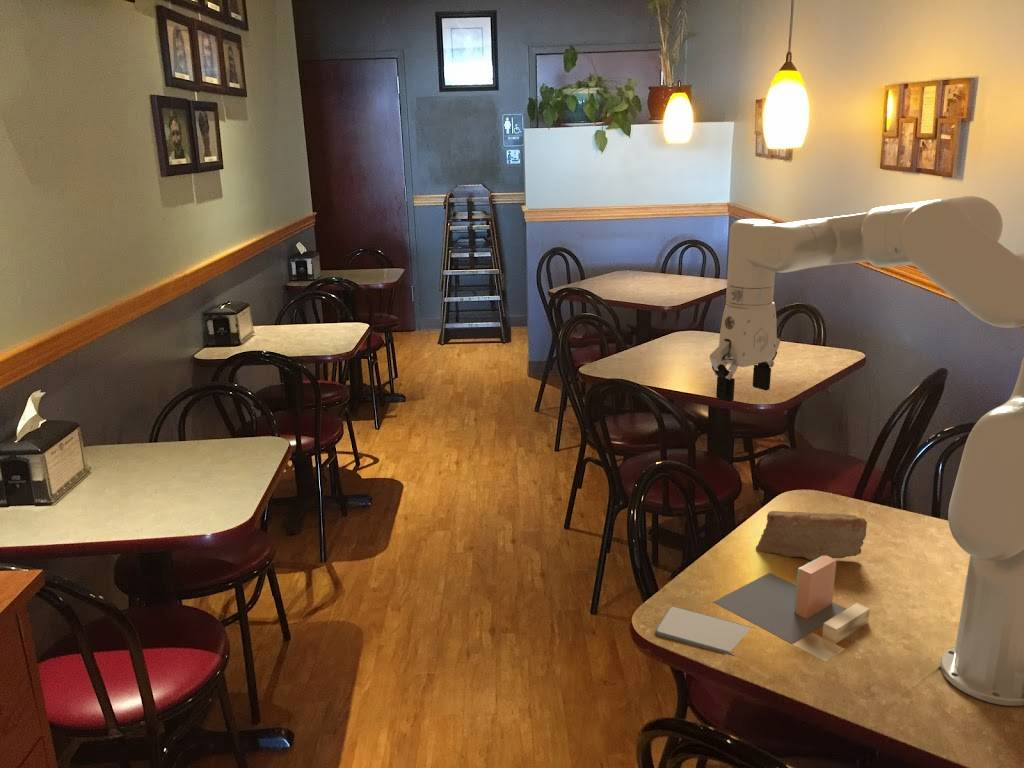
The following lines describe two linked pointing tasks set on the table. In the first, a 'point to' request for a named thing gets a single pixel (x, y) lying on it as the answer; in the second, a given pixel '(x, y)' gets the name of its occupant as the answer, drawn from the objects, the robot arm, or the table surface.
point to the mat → (775, 608)
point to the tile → (815, 586)
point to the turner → (835, 632)
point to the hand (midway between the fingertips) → (743, 394)
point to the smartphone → (701, 630)
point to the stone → (812, 535)
